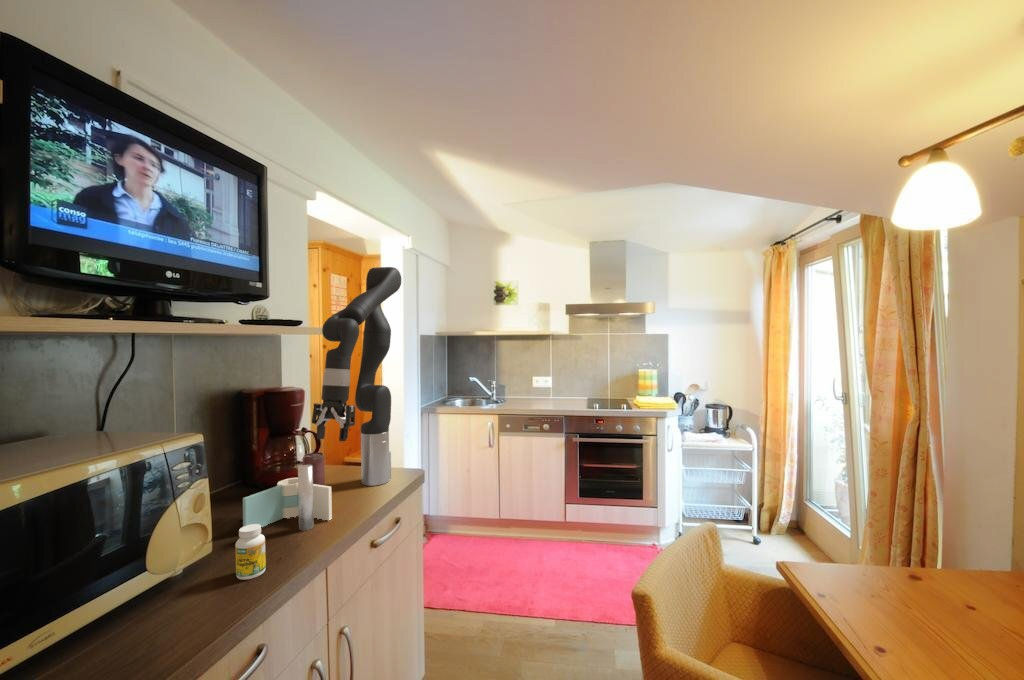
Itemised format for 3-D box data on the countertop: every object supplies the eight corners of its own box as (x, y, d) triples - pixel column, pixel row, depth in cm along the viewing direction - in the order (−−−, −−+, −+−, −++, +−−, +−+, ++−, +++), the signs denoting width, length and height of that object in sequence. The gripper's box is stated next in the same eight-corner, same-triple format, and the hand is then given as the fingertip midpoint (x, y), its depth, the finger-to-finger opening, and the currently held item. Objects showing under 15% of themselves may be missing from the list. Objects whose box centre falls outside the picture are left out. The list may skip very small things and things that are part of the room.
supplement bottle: (269, 565, 95) (268, 521, 96) (261, 578, 90) (260, 531, 90) (241, 569, 94) (240, 523, 94) (231, 582, 89) (230, 534, 89)
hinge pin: (306, 524, 117) (305, 464, 117) (316, 526, 115) (315, 465, 116) (295, 529, 114) (294, 467, 114) (305, 532, 112) (304, 469, 112)
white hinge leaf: (293, 507, 129) (293, 476, 129) (340, 515, 122) (339, 483, 122) (272, 516, 123) (271, 483, 123) (320, 525, 116) (319, 491, 116)
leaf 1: (293, 507, 129) (293, 476, 129) (311, 510, 127) (310, 479, 127) (235, 531, 113) (234, 496, 113) (254, 536, 110) (253, 500, 110)
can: (297, 502, 133) (297, 455, 134) (316, 495, 139) (315, 451, 139) (311, 505, 131) (310, 458, 131) (329, 498, 136) (328, 453, 136)
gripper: (363, 385, 132) (359, 440, 130) (327, 384, 138) (323, 437, 136) (345, 384, 125) (340, 443, 123) (308, 383, 131) (303, 439, 129)
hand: (331, 440), depth 129 cm, fingers open, 8 cm apart
